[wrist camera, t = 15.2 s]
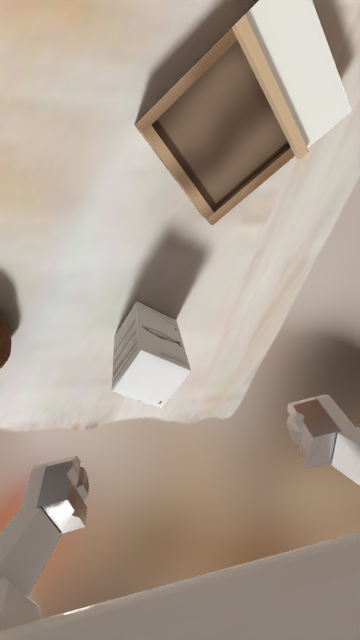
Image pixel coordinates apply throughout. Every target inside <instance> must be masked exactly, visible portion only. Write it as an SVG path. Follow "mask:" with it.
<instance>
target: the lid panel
mask: <svg viewBox="0 0 360 640" xmlns="http://www.w3.org/2000/svg"><path fill="white" fill-rule="evenodd" d="M232 29H233V31H234V33H235V35H236V37H237V39H238V41H239V43H240V45H241V47H242V49H243V52H244V54H245V56H246V58H247V60H248V62H249V64H250V66H251V68H252V70H253V72H254V74H255V76H256V78H257V80H258V82H259V84H260V86H261V88H262V90H263V92H264V94H265V96H266V98H267V100H268V102H269V104H270V106H271V108H272V110H273V112H274V114H275V116H276V118H277V120H278V122H279V124H280V126H281V128H282V130H283V132H284V134H285V136H286V138H287V140H288V142H289V145H290V147H291V149H292V151H293V153H294V155H295V157H296V158H302V157H303V156H304V155H306V154H307V153H308V152H309V151H308V149H307V148H309V147H310V146H311V145H312V144H313V143H314V142H316V141H317V140H318V139H319V138H320V137H322V136H323V135H324V134H325V133H326V132H328V131H329V130H330V129H331V128H332V127H333V126H335V125H336V124H337V123H338V122H339V121H341V120H342V119H343V118H344V117H345V116H346V115H348V114H349V113H350V112H351V111H352V109H351V106H350V104H349V101H348V98H347V95H346V93H345V90H344V87H343V84H342V82H341V79H340V76H339V73H338V70H337V68H336V65H335V62H334V59H333V57H332V54H331V51H330V48H329V46H328V43H327V40H326V37H325V34H324V32H323V29H322V26H321V23H320V21H319V18H318V15H317V12H316V9H315V7H314V4H313V1H312V0H259V1H258V2H257V3H256V4H255V5H254V6H253V7H252V8H251V9H250V10H249V11H248V12H247V13H246V14H245V15H244V16H243V17H242V18H241V19H240V20H239V21H238V22H237V23H236V24H235V25H234V26H233V27H232Z"/></svg>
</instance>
